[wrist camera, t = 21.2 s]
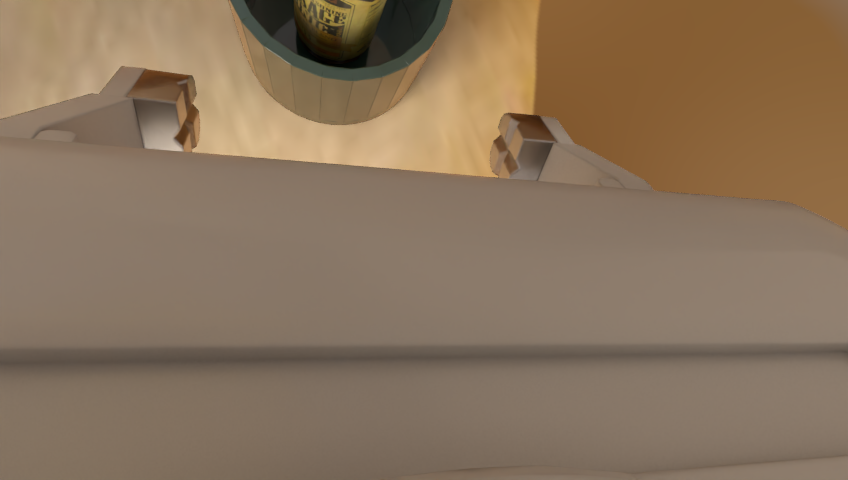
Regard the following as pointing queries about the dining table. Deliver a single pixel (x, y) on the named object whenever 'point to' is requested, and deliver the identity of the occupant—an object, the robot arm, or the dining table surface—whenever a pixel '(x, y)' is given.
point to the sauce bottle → (337, 27)
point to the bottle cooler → (338, 83)
